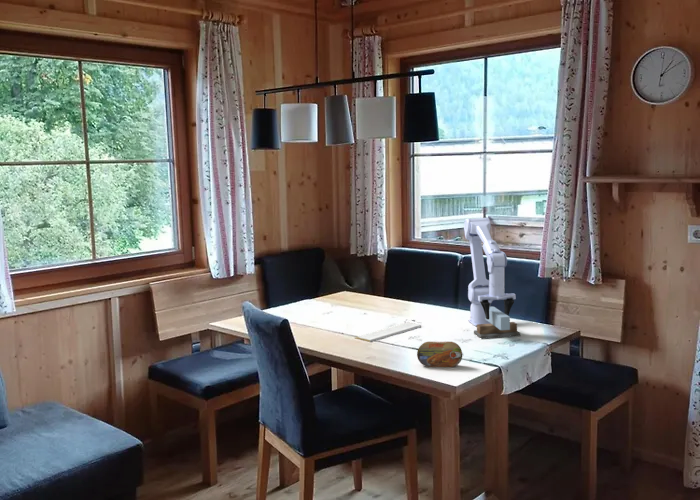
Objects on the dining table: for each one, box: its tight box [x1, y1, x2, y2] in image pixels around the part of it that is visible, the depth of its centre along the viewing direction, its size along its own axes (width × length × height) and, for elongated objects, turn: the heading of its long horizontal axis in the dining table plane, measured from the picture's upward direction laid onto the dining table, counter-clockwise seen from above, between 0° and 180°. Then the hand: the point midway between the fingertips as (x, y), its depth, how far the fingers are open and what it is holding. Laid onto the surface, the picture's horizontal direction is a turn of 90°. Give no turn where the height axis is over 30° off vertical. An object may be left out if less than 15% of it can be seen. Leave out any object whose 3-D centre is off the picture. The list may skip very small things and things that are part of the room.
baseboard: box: [354, 319, 422, 343], centre depth 273 cm, size 30×3×10 cm
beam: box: [485, 306, 511, 330], centre depth 263 cm, size 18×4×5 cm, turn 8°
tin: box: [416, 341, 463, 368], centre depth 227 cm, size 15×3×8 cm, turn 80°
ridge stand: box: [473, 321, 522, 339], centre depth 263 cm, size 16×8×4 cm, turn 98°
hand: (496, 318), depth 263 cm, fingers open, 7 cm apart
